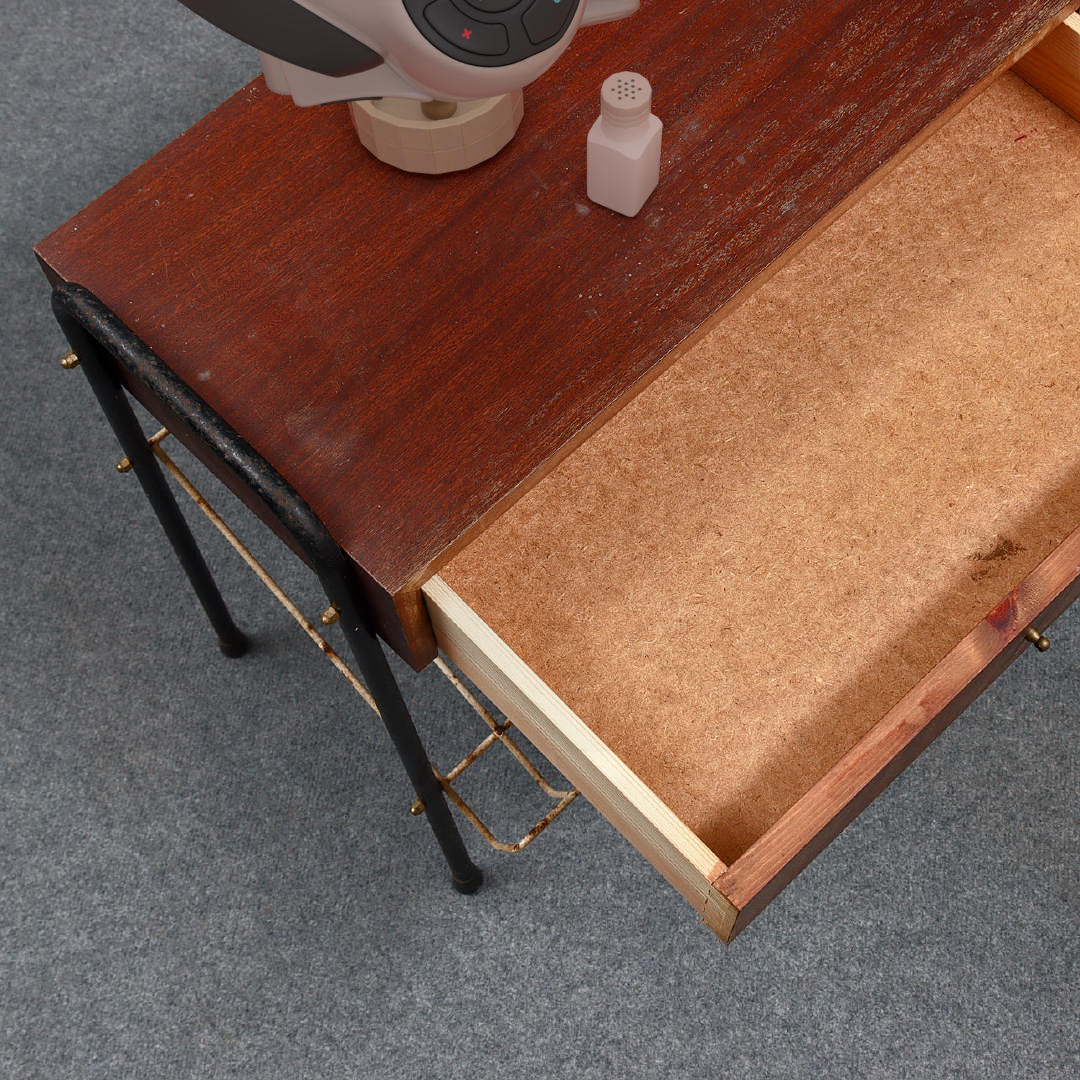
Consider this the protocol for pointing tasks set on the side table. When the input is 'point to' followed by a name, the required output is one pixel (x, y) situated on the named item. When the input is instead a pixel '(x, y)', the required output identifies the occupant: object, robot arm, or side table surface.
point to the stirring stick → (438, 109)
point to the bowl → (437, 132)
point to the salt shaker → (624, 145)
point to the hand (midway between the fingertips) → (438, 24)
